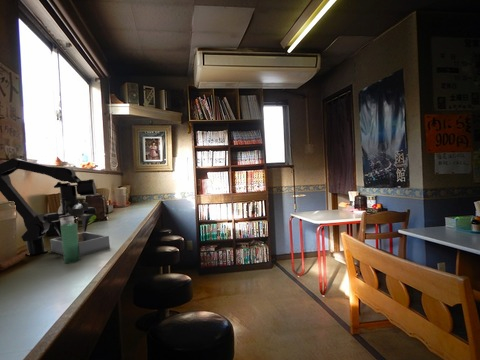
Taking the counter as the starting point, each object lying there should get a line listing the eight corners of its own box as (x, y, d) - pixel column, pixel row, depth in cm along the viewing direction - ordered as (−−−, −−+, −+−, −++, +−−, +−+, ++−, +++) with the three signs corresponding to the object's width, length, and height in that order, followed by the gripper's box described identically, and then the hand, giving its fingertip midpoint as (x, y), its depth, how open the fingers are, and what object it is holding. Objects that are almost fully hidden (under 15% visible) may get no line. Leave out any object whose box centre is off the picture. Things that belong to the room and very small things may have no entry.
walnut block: (65, 246, 122) (64, 235, 122) (78, 243, 126) (76, 232, 126) (70, 248, 119) (68, 236, 119) (82, 244, 123) (81, 233, 123)
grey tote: (51, 251, 120) (50, 239, 120) (86, 242, 131) (85, 231, 131) (72, 258, 106) (71, 244, 106) (110, 248, 117) (108, 235, 117)
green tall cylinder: (61, 262, 102) (58, 225, 102) (76, 258, 106) (73, 222, 106) (67, 264, 99) (63, 226, 99) (82, 260, 103) (79, 223, 102)
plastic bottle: (70, 243, 134) (65, 199, 133) (57, 243, 135) (53, 200, 134) (80, 239, 140) (76, 198, 139) (68, 239, 141) (64, 199, 141)
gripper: (50, 200, 109) (55, 241, 110) (100, 194, 124) (104, 230, 124) (40, 200, 117) (45, 239, 117) (88, 194, 131) (92, 229, 131)
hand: (73, 234), depth 122 cm, fingers open, 9 cm apart
